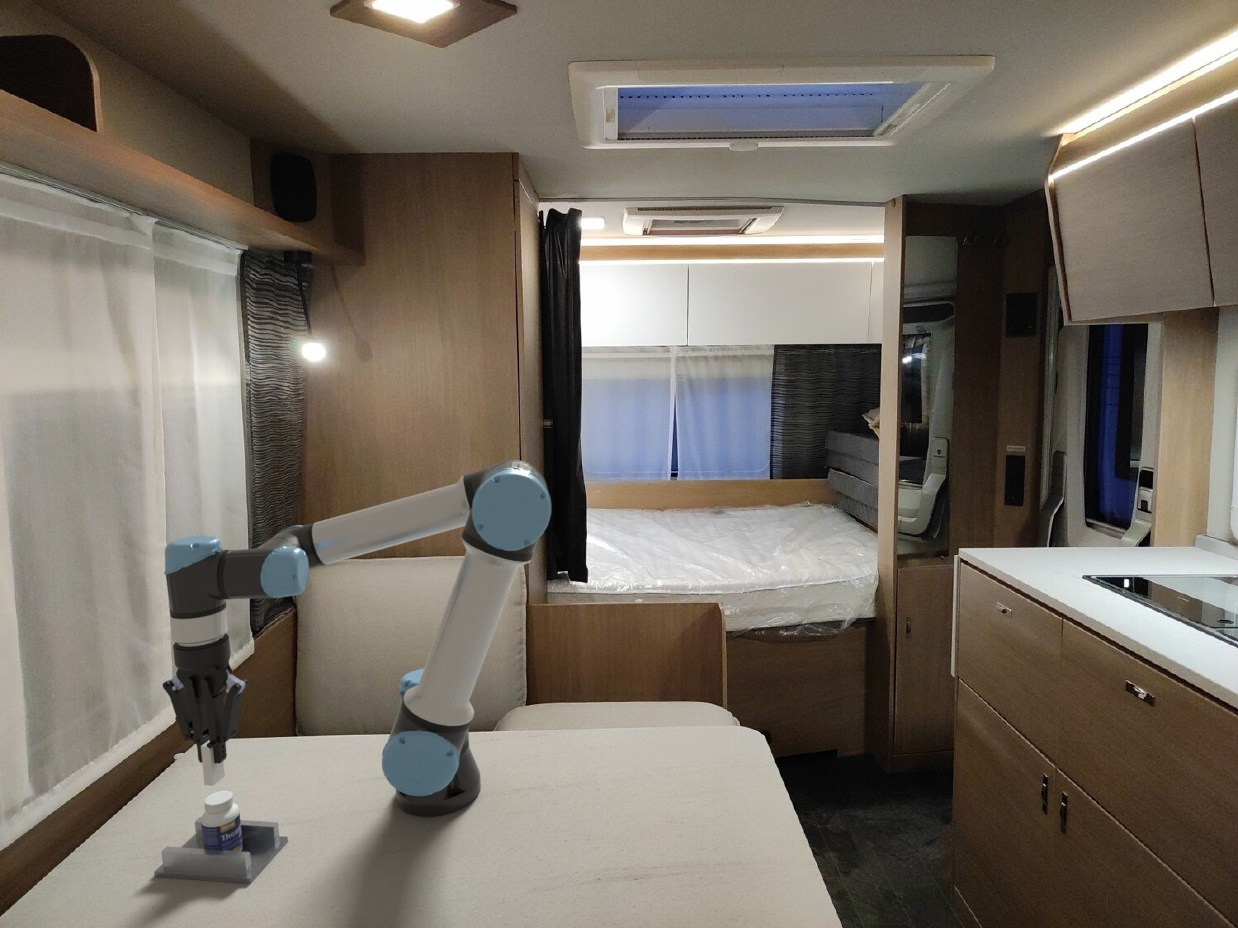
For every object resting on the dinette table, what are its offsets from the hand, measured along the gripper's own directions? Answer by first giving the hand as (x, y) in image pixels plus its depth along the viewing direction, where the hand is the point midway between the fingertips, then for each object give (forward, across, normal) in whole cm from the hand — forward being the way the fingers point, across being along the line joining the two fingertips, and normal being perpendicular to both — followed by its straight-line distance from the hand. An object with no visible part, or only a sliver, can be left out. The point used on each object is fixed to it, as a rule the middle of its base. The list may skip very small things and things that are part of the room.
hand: (214, 780), depth 115 cm
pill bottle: (+13, 0, 0) cm, 13 cm away
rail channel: (+13, 0, 0) cm, 13 cm away
